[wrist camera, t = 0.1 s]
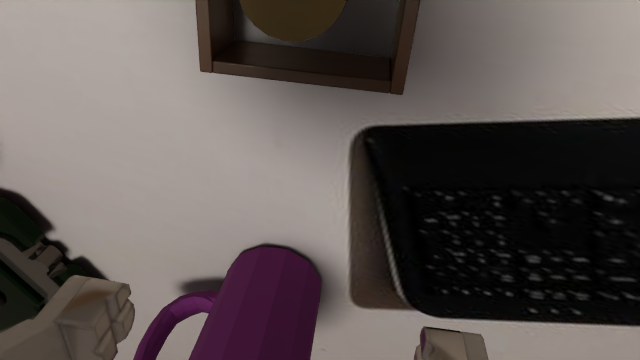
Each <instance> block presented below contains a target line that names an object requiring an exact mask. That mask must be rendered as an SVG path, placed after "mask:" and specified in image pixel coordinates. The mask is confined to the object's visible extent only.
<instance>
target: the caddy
mask: <svg viewBox="0 0 640 360" xmlns="http://www.w3.org/2000/svg"><path fill="white" fill-rule="evenodd" d="M419 5H420V0H400V1H399V7H398V14H397V20H396V26H395V32H394V38H393V44H392V51H391V57H390V58H387V57H378V56H369V55H360V54H351V53H343V52H334V51H325V50H316V49H307V48H298V47H289V46H280V45H271V44H262V43H253V42H244V41H234V4H233V0H196V15H197V31H198V46H199V61H200V71H201V72H209V73H212V72H213V73H219V74H227V75H236V76H244V77H253V78H262V79H270V80H279V81H287V82H296V83H305V84H313V85H322V86H330V87H339V88H348V89H356V90H365V91H373V92H382V93H389V92H390V94H398V95H403V91H404V85H405V80H406V75H407V69H408V64H409V59H410V53H411V48H412V42H413V37H414V32H415V26H416V21H417V15H418V10H419Z"/></svg>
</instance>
